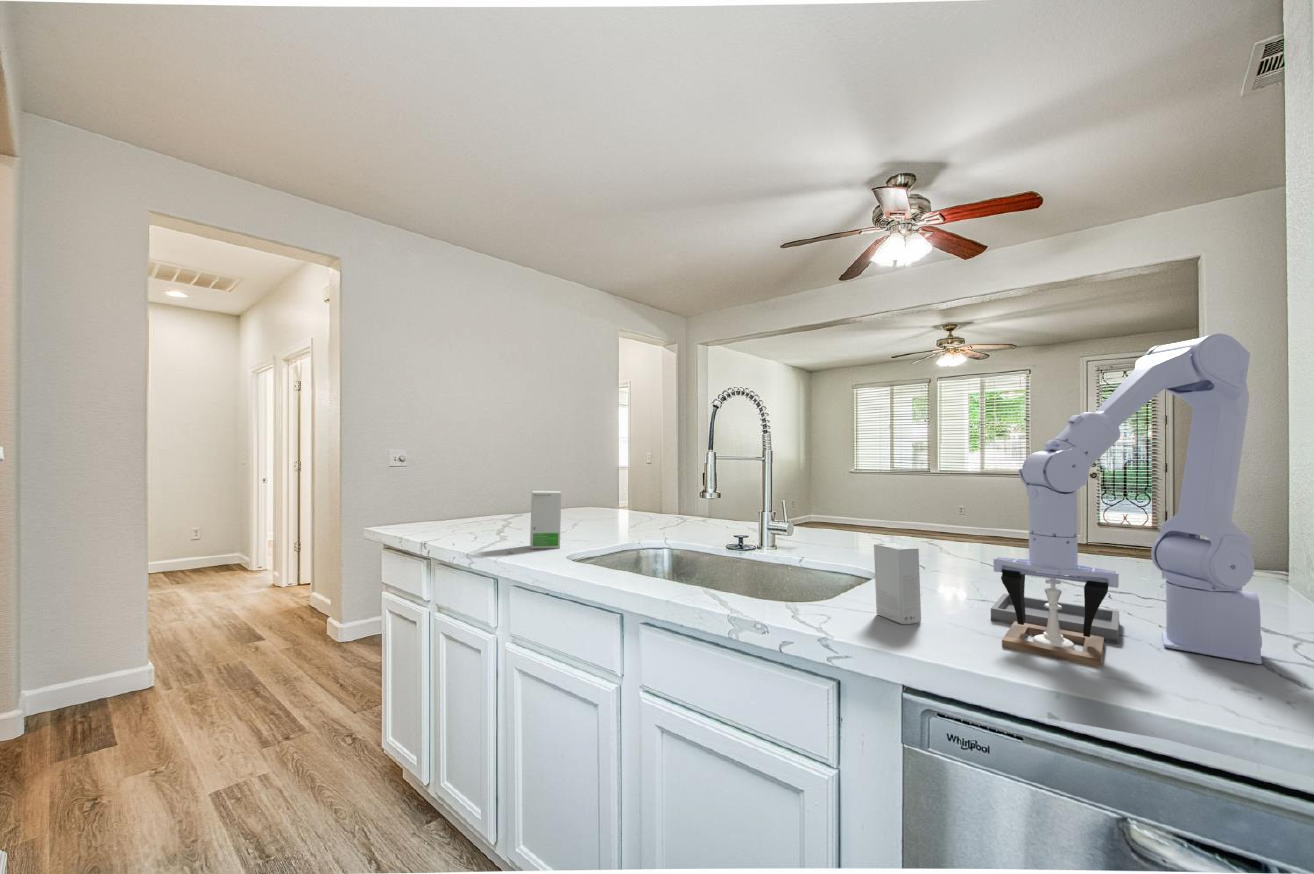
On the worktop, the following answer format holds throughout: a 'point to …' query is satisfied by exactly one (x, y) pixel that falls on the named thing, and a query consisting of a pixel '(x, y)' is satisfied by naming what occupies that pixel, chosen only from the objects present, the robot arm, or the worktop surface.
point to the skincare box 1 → (545, 519)
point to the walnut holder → (1087, 656)
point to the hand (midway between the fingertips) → (1053, 628)
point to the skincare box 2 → (897, 582)
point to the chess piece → (1053, 620)
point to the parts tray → (1059, 616)
